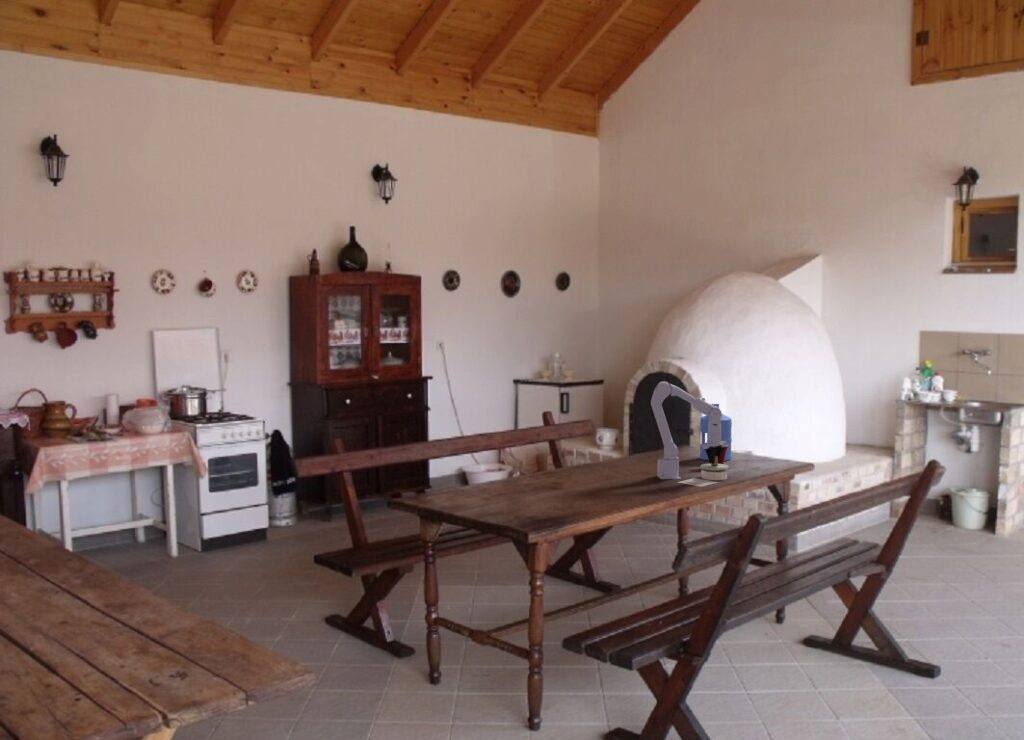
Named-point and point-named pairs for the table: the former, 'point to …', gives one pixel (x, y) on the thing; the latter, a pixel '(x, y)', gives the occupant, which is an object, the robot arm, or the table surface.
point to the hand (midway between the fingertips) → (714, 462)
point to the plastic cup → (722, 454)
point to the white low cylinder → (714, 474)
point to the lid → (714, 466)
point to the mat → (697, 482)
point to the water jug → (725, 434)
